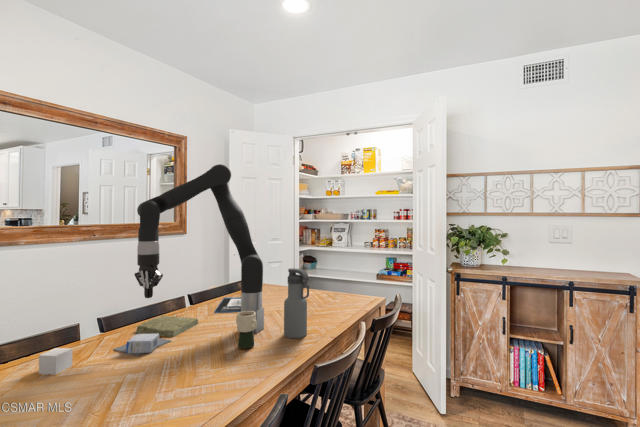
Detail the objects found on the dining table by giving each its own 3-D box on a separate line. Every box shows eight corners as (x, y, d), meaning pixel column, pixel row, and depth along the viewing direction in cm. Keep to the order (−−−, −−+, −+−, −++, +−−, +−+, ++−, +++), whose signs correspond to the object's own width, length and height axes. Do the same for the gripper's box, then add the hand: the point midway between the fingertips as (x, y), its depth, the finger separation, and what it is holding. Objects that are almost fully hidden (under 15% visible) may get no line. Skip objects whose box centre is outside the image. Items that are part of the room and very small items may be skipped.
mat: (171, 341, 131) (171, 340, 131) (137, 355, 118) (137, 354, 118) (147, 336, 136) (147, 335, 136) (113, 350, 122) (113, 349, 122)
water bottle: (311, 333, 142) (312, 268, 142) (300, 340, 133) (301, 271, 133) (291, 329, 146) (291, 267, 146) (279, 336, 137) (280, 270, 137)
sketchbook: (213, 314, 170) (213, 310, 170) (224, 300, 200) (224, 296, 200) (255, 313, 173) (255, 309, 173) (259, 299, 203) (259, 295, 203)
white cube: (55, 365, 110) (56, 347, 110) (72, 366, 109) (72, 348, 109) (38, 374, 104) (39, 355, 104) (55, 375, 103) (56, 356, 103)
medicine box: (159, 344, 127) (136, 345, 126) (159, 333, 127) (136, 333, 126) (150, 352, 119) (125, 353, 118) (150, 340, 119) (126, 341, 119)
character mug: (262, 347, 126) (263, 313, 126) (249, 353, 120) (249, 318, 120) (243, 341, 132) (243, 308, 132) (229, 346, 126) (229, 313, 127)
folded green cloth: (161, 321, 158) (161, 314, 158) (199, 324, 154) (199, 316, 154) (131, 334, 140) (132, 326, 140) (173, 338, 136) (173, 330, 136)
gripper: (169, 252, 127) (169, 296, 127) (144, 251, 132) (144, 294, 132) (152, 254, 120) (152, 301, 120) (127, 253, 125) (127, 298, 125)
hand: (148, 297), depth 126 cm, fingers closed
